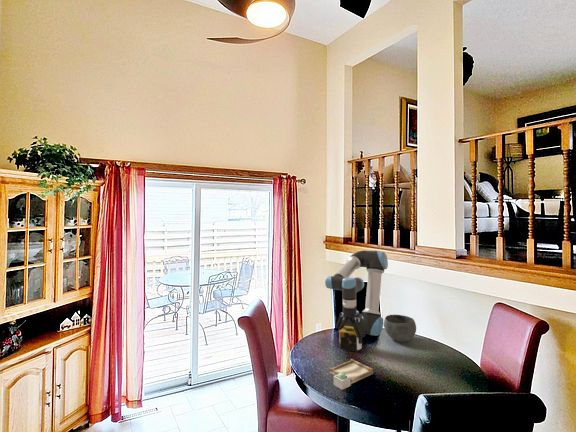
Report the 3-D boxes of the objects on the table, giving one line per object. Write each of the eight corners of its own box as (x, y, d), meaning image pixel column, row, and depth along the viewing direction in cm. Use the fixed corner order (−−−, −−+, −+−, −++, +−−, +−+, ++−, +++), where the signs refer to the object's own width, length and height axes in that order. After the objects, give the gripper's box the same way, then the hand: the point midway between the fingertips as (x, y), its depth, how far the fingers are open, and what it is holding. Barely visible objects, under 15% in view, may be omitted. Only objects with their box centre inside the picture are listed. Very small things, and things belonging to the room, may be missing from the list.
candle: (362, 345, 180) (362, 327, 179) (358, 352, 170) (357, 333, 170) (344, 342, 184) (344, 325, 184) (339, 349, 175) (339, 331, 175)
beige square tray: (329, 372, 178) (329, 367, 178) (351, 363, 188) (351, 358, 188) (350, 384, 165) (350, 379, 165) (373, 373, 175) (373, 369, 175)
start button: (336, 381, 164) (336, 374, 164) (341, 379, 166) (341, 371, 166) (341, 384, 161) (341, 376, 161) (347, 382, 164) (346, 374, 164)
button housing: (333, 384, 165) (333, 376, 165) (342, 381, 168) (341, 372, 168) (342, 389, 160) (341, 380, 160) (350, 385, 163) (350, 377, 163)
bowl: (389, 332, 235) (389, 312, 235) (419, 338, 223) (419, 316, 222) (379, 341, 218) (379, 320, 218) (411, 349, 206) (411, 325, 205)
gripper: (329, 302, 184) (329, 339, 184) (361, 313, 164) (362, 354, 164) (338, 300, 188) (339, 336, 189) (371, 310, 168) (372, 350, 169)
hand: (350, 345), depth 176 cm, fingers closed on candle, 12 cm apart
